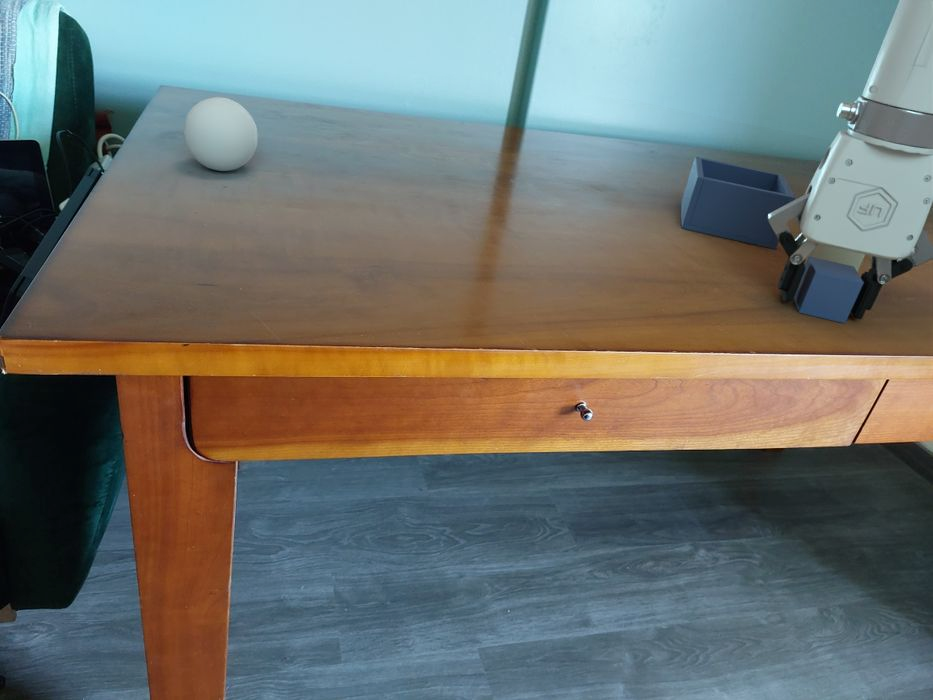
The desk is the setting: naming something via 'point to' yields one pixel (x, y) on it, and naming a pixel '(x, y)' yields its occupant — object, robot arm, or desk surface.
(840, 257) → the cream block
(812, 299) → the blue block
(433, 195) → the desk surface
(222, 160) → the ball
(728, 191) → the blue bin
